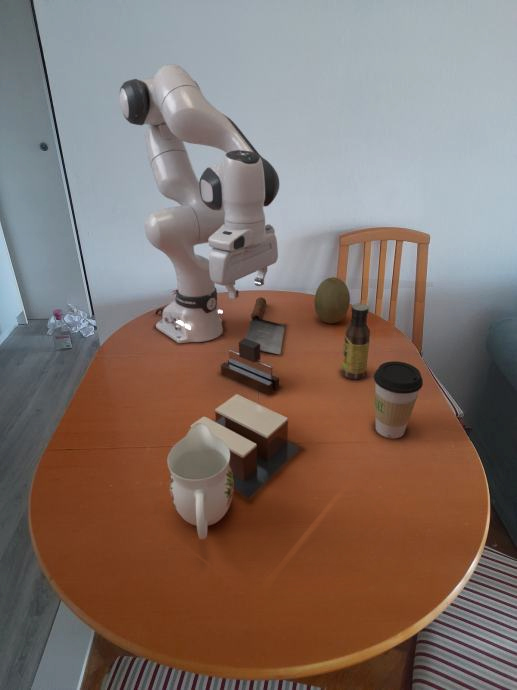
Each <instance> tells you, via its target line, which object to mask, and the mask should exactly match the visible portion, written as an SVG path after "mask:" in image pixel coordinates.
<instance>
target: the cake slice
mask: <svg viewBox="0 0 517 690" xmlns="http://www.w3.org/2000/svg"><path fill="white" fill-rule="evenodd" d="M196 423H203V424H205V425H206V426H207V427H208V428H209V430H210V431H211V433H212V434H213V435H215V436H216V437H218V438H220V439H221V440H223V441H224V442H225V443H226V445H227V446H228V448H229V450H230V462H229V465H230V467H231V469H232V473H233V475H234V476H236V477H237V478H239V479H241V480H242V481H245V480H247V479H248V478H249V477H250V476H251V475H252V474H253V473H254V472H255V471H256V470H257V444H255V443H254V442H252V441H250V440H248V439H246V438H244V437H242V436H240V435H239V434H237V433H235V432H233V431H231V430H229V429H227V428H225V427H224V426H222V425H220V424H218V423H216V421H214V420H212V419H210V418H209V417H207V416H202V417H201V418H199V419H198V420H196V421H195V422H193V423H192V424H191V425H190V427H189V430H190V429H191V427H192V426H193V425H194V424H196Z"/></svg>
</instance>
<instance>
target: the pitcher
mask: <svg viewBox="0 0 517 690" xmlns="http://www.w3.org/2000/svg"><path fill="white" fill-rule="evenodd" d="M193 424H194V423H193ZM229 462H230V450H229V448H228V446H227V445H226V443H225V442H224V441H223V440H221V439H220V438H218V437H216V436H215V435H213V434H212V433H211V431H210V430H209V428H208V427H207V426H206V425H205V424H203V423H196V424H194V425H193V426H192V427H191V429H190V428H189V430H188V432H187V433H186V435H185V436H184V437H183V438H181V439H180V440H179V441H177V442H176V443H175V444H174V445H173V446H172V448H170V451H169V452H168V455H167V462H166V463H167V467H168V469H169V472H170V474H169V480H168V489H169V495H170V499H171V501H172V504H173V506H174V508H175V509H176V510H175V511H176V512H177V513H178V514H179V515H180V517H181V518H182V519H183V520H184V521H185V522H187V523H188V524H190V525H192V526H195V527H196V531H197V535H198V536H197V537H198V539H199V540H206V539H207V538H208V527H209V526H212V525H215V524H216V523H218V522H220V521H221V519H222V518H223V517H224V516H225V515H226V514H227V512H228V510H229V508H230V506H231V503H232V500H233V497H234V490H235V489H234V478H233V473H232V469H231V467H230V465H229Z"/></svg>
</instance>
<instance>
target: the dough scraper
mask: <svg viewBox="0 0 517 690" xmlns="http://www.w3.org/2000/svg"><path fill="white" fill-rule="evenodd" d="M228 360H229V364H230V365H233V366H235V367H237V368H240V369H242V370H244V371H247V372H249V373H251V374H254V375H256V376H258V377H261V378H263V379H265V380H268V381H270V382H272V375H273V366H272V365H270V364H267V363H264V362H262V361H260V360H261V351H260V344H259V343H256V342H254V341H251V340H248V339H246V338H243V339H241V340H239V341H238V352H237V351H235V350H233V349H228Z"/></svg>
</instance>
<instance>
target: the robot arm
mask: <svg viewBox="0 0 517 690" xmlns="http://www.w3.org/2000/svg"><path fill="white" fill-rule="evenodd" d="M118 97H119V98H118V99H119V100H118V101H119V106H120V109H121V113H122V114H123V117H124V119H125V120H126V121H127V122H128V123H130V124H132V125H134V126H135V125H137V126H144V125H148V126H147V128H145V129H146V130H145V132H144V140H145V150H146V154H147V159H148V161H149V165H150V168H151V171H152V175H153V177H154V180H155V184H156V187H157V189H158V191H159V192H160V194H161V195H162V196H163V197H165V198H166V199H169V200H171V201H174V202H176V203H178V205H179V206H178V205H177V206H171V207H164V208H161V209H158V210H156V211H153V212H150V213H149V214H148V216H147V217H146V219H145V223H144V232H145V237H146V238H147V240H148V242H149V243H150V245H152V247H154V248H155V249H157V250H159V251H160V252H162V253H163V254H165V255H166V257H168V259H169V261H170V262H171V263H172V265H173V268H174V273H175V277H176V284H177V288H176V290H173V291H172V295H173V296H174V295H175V298H174V300H173V301H172V302H170V303H169V304H168V305H166V306H164V307H160V308H157V310H156V311H155V313H154V314H155V315H158V313H160V314H161V317H162V318H161V319H160V320H159V321H158V322H156V324H155V328H156V329H157V330H158V331H160V332H162V333H163V334H164V335H166V336H167V337H169V338H170V339H172V340H173V341H175V343H177V344H185V343H202V342H208V341H211V340H216V339H217V338H218V337H220V336H221V335H222V334H223V332H224V328H223V325H222V324H223V319H222V318H221V314H223V310H222V309H219V305H218V304H219V303H218V291H217V290H218V289H217V287H216V285H220V286H224V287H225V288H226V290H227V292H228V298H229V299H231V300H235V299H237V298H239V295H240V294H239V293H240V291H239V289H236V288H235V285H236V282H237V281H238V280H240V279H243V278H245V277H247V276H250V275H251V274H254V273H256V272H257V273H256V277H255V278H254V285H255V286H257V287H262V286H264V285H265V278H266V275H267V272H268V267H270V266H272V265H274V264H276V263H277V261H278V259H279V251H278V250H279V249H278V239H277V236H276V232H275V230H276V229H275V228H274V227H273V225H271V224H269V223H268V224H266V214H265V211H264V209H265V207H269V206H270V205H271V204H272V203H273V202H274V200H275V199H276V197H277V195H278V193H279V190H280V178H279V174H278V172H277V170H276V169H275V167H274V166H273V164H271V163H270V162H269V161H268V160H267V159H266V158H264V157H263V156H262V155H261V154H260V153H259V152H258V151H257V149H256V148H255V147H254V145H252V142H250V140H249V139H248V138H247V137H246V135H245V134H244V133H243V132H242V130H241V129H240V128H239V126H237V124H236V123H235V122H234V121H233V119H231V118H230V117H228V116H227V115H226V114H224V113H222V112H221V111H219V110H218V109H217V108H216V107H215V106H213V104H211V102H210V101H208V99H207V98H206V97H205V95H204V93H203V92H202V90H201V88H200V86H199V84H198V83H197V81H196V80H194V79H193V77H192V76H191V75H190V74H189V73H188V72H187V70H186V69H184V68H183V67H182V66H180V65H177V64H174V63H173V64H171V63H170V64H166V65H163V66H162V67H160V68H159V69H157V71H156V73H155V74H154V77H149V78H148V77H147V78H141V79H137V78H132V79H129V80H126V81H124V82H123V83H122V84H121V86H120V88H119V96H118ZM185 143H186V144H191V145H192V144H193V145H201V146H206V147H211V148H215V149H218V150H220V151H223V152H224V153H225V154H224V155H223V157H222V161H220V162H219V163H217V164H215V165H212V166H209V167H207V168H206V169H204V171H203V172H202V173H201V176H200V178H198V177H197V175H196V173H195V170H194V168H193V167H194V166H193V164H192V162H191V159H190V156H189V153H188V150H187V148H186V145H185ZM203 244H208V246H209V247H211V249H210V251H209V254H208V255H209V256H208V258H207V257H205V256H203V255H200V254H196V253H195V246H198V245H203Z"/></svg>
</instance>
